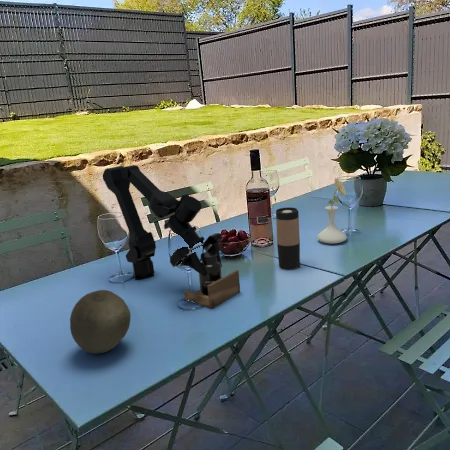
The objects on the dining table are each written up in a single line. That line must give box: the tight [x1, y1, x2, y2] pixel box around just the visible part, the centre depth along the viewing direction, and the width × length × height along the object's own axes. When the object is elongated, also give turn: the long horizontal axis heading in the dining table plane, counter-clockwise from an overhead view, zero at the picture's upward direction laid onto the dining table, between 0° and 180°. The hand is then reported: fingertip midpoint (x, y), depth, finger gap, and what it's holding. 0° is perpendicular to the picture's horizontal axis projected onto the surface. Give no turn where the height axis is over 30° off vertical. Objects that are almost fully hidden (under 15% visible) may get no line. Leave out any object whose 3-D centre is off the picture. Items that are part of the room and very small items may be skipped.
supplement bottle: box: [198, 251, 223, 295], centre depth 129 cm, size 7×7×12 cm
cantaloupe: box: [69, 289, 131, 355], centre depth 105 cm, size 14×14×15 cm
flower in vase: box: [316, 177, 348, 244], centre depth 167 cm, size 13×11×25 cm
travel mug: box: [275, 207, 301, 271], centre depth 146 cm, size 8×8×20 cm
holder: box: [183, 269, 241, 310], centre depth 130 cm, size 11×13×7 cm
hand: (213, 271), depth 128 cm, fingers closed on supplement bottle, 7 cm apart
